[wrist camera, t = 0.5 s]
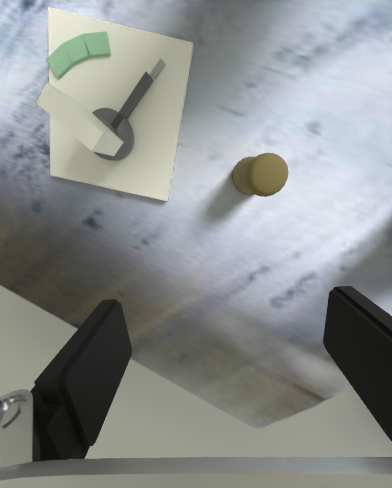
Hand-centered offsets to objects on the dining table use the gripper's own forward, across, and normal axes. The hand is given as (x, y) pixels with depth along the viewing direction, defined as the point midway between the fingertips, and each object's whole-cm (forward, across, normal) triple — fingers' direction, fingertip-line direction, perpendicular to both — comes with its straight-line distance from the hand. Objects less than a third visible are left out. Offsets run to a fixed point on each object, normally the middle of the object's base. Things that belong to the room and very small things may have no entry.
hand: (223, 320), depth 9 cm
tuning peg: (+27, +12, -16) cm, 34 cm away
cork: (+29, -7, -6) cm, 31 cm away
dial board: (+29, +13, -16) cm, 36 cm away
